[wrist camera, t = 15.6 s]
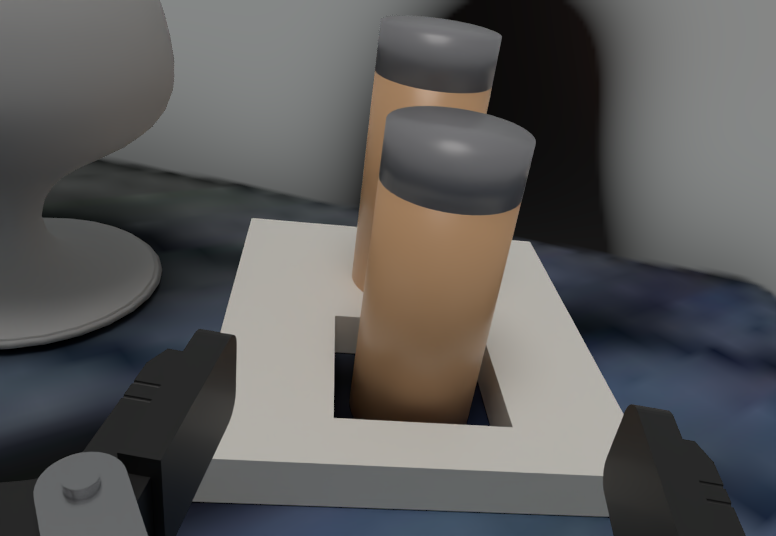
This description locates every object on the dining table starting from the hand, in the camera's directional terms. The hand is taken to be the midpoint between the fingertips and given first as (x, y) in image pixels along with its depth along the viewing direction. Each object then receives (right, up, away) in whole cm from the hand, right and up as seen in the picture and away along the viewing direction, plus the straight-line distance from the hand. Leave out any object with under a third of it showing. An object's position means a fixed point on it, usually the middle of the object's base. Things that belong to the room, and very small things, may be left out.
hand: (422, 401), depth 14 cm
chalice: (-18, +2, +19) cm, 26 cm away
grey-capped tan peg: (0, -3, +14) cm, 15 cm away
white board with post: (0, -1, +17) cm, 17 cm away
